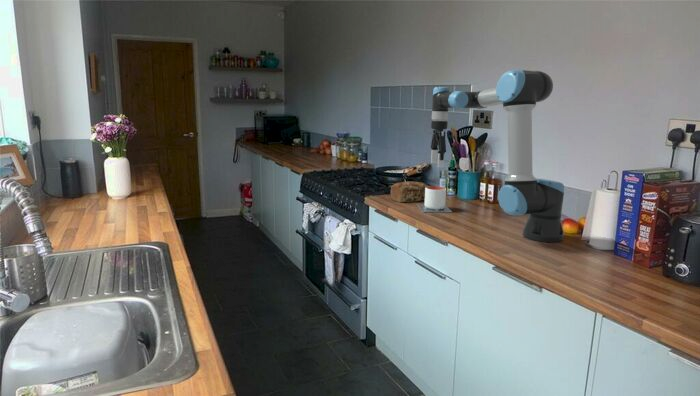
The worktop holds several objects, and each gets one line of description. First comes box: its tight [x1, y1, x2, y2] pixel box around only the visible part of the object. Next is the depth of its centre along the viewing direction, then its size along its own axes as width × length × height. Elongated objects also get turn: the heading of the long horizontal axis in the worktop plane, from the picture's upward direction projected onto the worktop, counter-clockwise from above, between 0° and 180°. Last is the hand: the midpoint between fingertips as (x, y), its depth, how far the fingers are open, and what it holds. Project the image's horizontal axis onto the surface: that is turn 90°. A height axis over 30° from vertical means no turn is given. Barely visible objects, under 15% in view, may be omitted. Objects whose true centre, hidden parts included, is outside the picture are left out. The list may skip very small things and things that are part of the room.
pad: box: [417, 204, 453, 214], centre depth 231 cm, size 14×14×1 cm
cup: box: [423, 185, 447, 210], centre depth 229 cm, size 10×10×10 cm
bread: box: [390, 180, 429, 203], centre depth 250 cm, size 19×11×10 cm, turn 118°
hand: (437, 165), depth 226 cm, fingers open, 13 cm apart
